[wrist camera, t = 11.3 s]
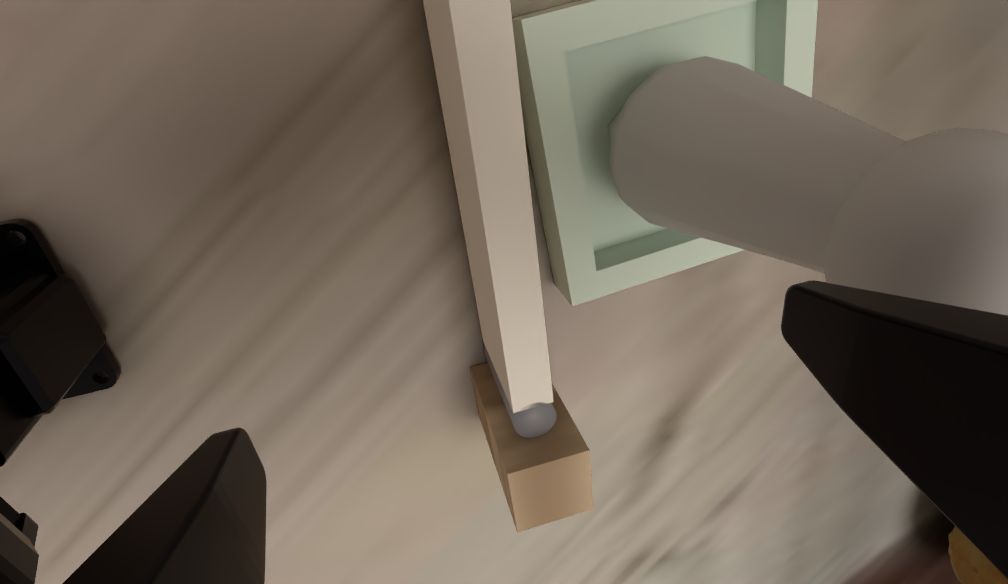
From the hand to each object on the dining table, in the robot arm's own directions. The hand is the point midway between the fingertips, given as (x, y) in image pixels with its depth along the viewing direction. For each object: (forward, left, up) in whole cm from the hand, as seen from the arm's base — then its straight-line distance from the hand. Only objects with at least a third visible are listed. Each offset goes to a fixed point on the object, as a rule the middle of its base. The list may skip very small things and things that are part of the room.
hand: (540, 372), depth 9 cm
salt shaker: (+9, 0, -13) cm, 15 cm away
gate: (+2, +1, -13) cm, 13 cm away
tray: (+9, 0, -13) cm, 16 cm away
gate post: (+1, -10, -13) cm, 17 cm away
